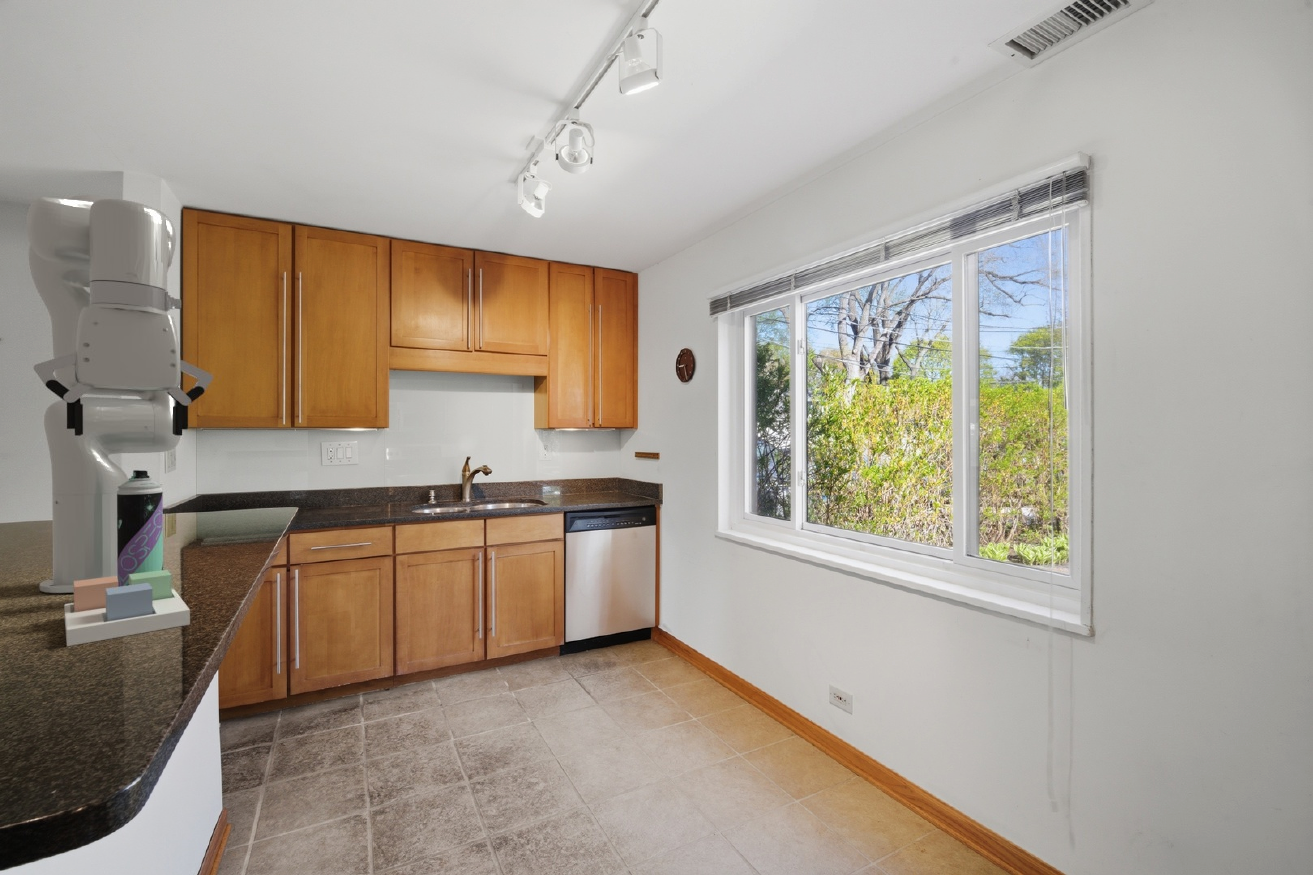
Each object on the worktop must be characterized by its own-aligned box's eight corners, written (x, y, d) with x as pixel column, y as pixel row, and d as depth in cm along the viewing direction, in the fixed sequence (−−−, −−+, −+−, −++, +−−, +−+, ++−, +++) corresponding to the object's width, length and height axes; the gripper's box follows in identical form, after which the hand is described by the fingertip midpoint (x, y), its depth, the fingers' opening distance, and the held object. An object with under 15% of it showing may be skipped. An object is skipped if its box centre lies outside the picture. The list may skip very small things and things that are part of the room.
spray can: (109, 602, 92) (108, 471, 92) (129, 593, 98) (129, 469, 97) (152, 600, 94) (151, 471, 93) (169, 590, 99) (169, 468, 99)
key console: (64, 618, 85) (64, 604, 84) (173, 601, 93) (173, 588, 93) (66, 646, 74) (66, 630, 74) (189, 624, 82) (189, 609, 82)
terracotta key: (73, 606, 84) (73, 581, 84) (116, 600, 87) (115, 575, 87) (74, 613, 81) (74, 587, 81) (118, 606, 84) (118, 581, 84)
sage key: (128, 598, 88) (128, 574, 88) (167, 592, 91) (167, 569, 91) (131, 604, 85) (131, 579, 85) (171, 598, 88) (171, 574, 88)
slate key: (105, 614, 81) (105, 588, 81) (148, 607, 84) (148, 582, 84) (108, 622, 78) (107, 595, 77) (152, 614, 81) (152, 588, 81)
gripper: (207, 314, 86) (207, 434, 87) (34, 295, 74) (35, 434, 75) (217, 308, 81) (217, 435, 81) (31, 286, 69) (32, 436, 69)
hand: (130, 435), depth 78 cm, fingers open, 9 cm apart
